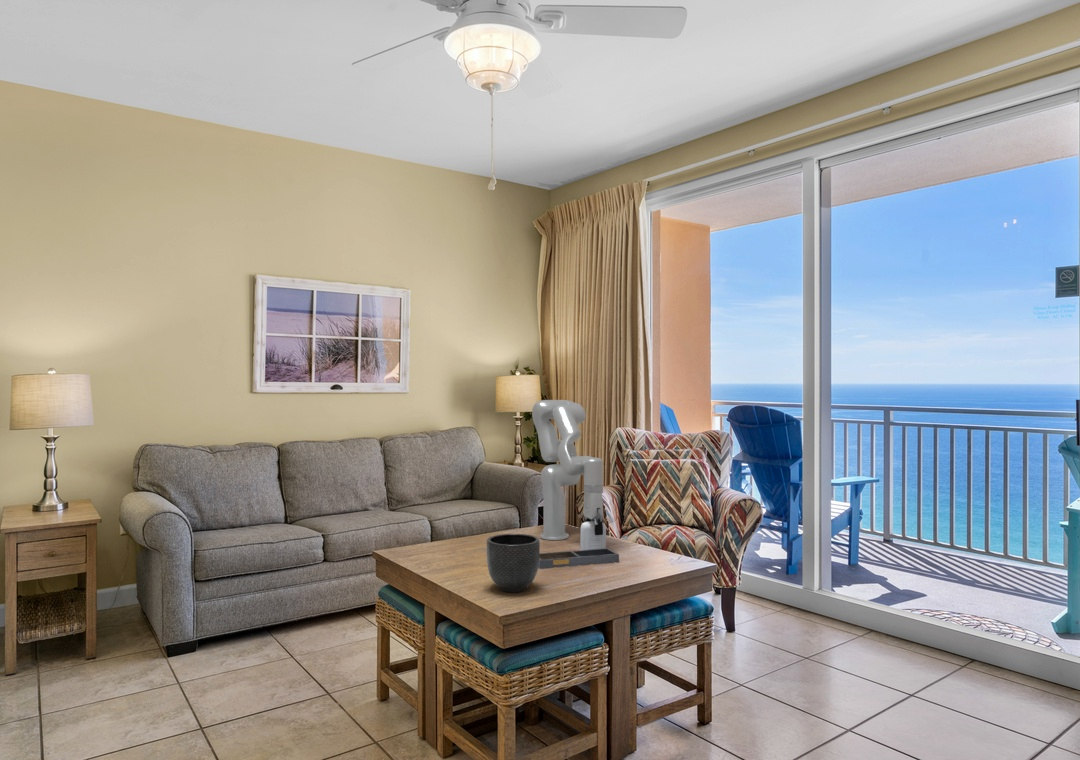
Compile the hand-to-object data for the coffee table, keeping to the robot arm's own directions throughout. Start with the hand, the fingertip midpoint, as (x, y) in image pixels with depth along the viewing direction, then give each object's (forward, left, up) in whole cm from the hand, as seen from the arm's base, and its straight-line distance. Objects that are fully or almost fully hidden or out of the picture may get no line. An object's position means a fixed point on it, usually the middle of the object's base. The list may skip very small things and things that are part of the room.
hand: (594, 532), depth 267 cm
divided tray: (+11, -12, -8) cm, 18 cm away
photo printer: (-1, 0, -8) cm, 8 cm away
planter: (+36, -43, -8) cm, 57 cm away
